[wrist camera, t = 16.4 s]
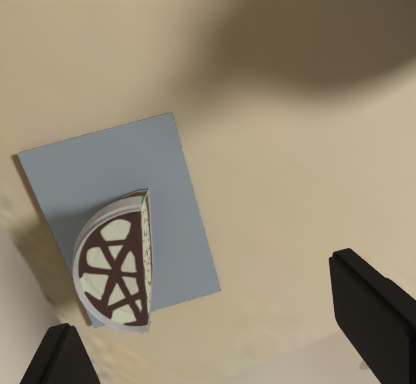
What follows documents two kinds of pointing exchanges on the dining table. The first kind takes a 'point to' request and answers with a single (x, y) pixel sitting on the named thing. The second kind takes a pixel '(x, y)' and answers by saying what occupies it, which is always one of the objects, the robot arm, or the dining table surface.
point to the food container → (117, 263)
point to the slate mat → (121, 185)
